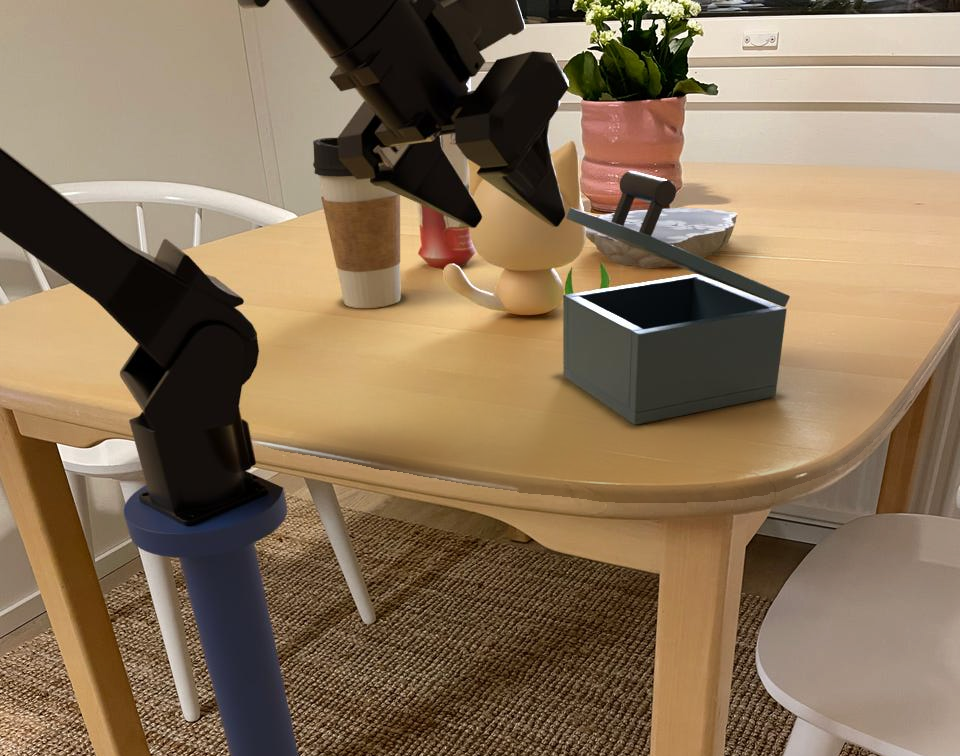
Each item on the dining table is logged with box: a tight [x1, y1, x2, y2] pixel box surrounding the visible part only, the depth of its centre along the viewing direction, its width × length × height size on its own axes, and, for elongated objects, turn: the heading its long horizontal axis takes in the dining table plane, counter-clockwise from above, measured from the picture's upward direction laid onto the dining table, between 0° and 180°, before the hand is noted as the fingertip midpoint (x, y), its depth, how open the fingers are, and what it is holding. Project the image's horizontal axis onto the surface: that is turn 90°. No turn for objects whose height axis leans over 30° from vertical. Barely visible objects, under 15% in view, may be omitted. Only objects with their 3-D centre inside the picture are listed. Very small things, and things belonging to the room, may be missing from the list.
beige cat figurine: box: [442, 140, 611, 316], centre depth 88 cm, size 15×10×15 cm, turn 64°
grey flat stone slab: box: [586, 207, 738, 269], centre depth 110 cm, size 20×17×3 cm
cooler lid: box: [566, 170, 791, 308], centre depth 67 cm, size 13×12×4 cm
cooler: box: [562, 273, 787, 426], centre depth 72 cm, size 12×12×6 cm
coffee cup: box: [312, 137, 402, 309], centre depth 94 cm, size 8×8×15 cm
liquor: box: [416, 77, 477, 269], centre depth 103 cm, size 7×7×28 cm
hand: (516, 222), depth 65 cm, fingers open, 9 cm apart
